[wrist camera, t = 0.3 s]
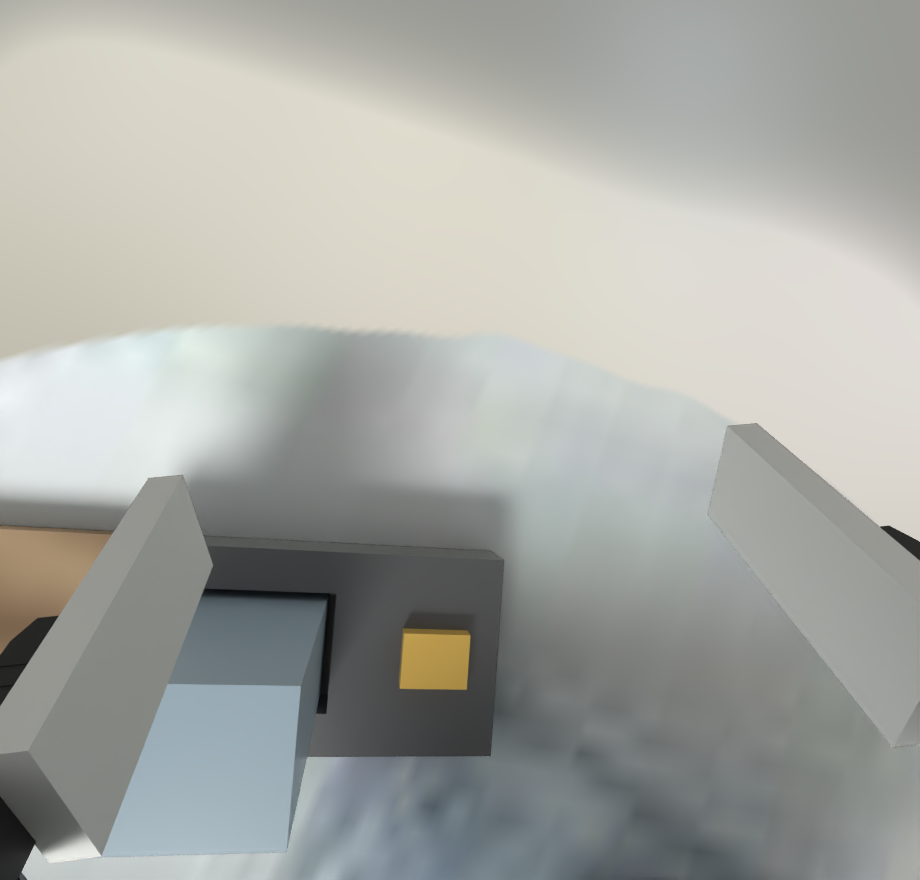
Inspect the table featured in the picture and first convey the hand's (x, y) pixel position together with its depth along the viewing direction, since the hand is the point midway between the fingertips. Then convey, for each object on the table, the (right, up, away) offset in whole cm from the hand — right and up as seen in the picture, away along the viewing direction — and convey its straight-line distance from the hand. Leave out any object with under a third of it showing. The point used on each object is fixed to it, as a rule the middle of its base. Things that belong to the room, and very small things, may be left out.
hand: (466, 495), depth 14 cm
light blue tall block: (-10, -8, +13) cm, 18 cm away
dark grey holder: (-7, -8, +14) cm, 18 cm away
